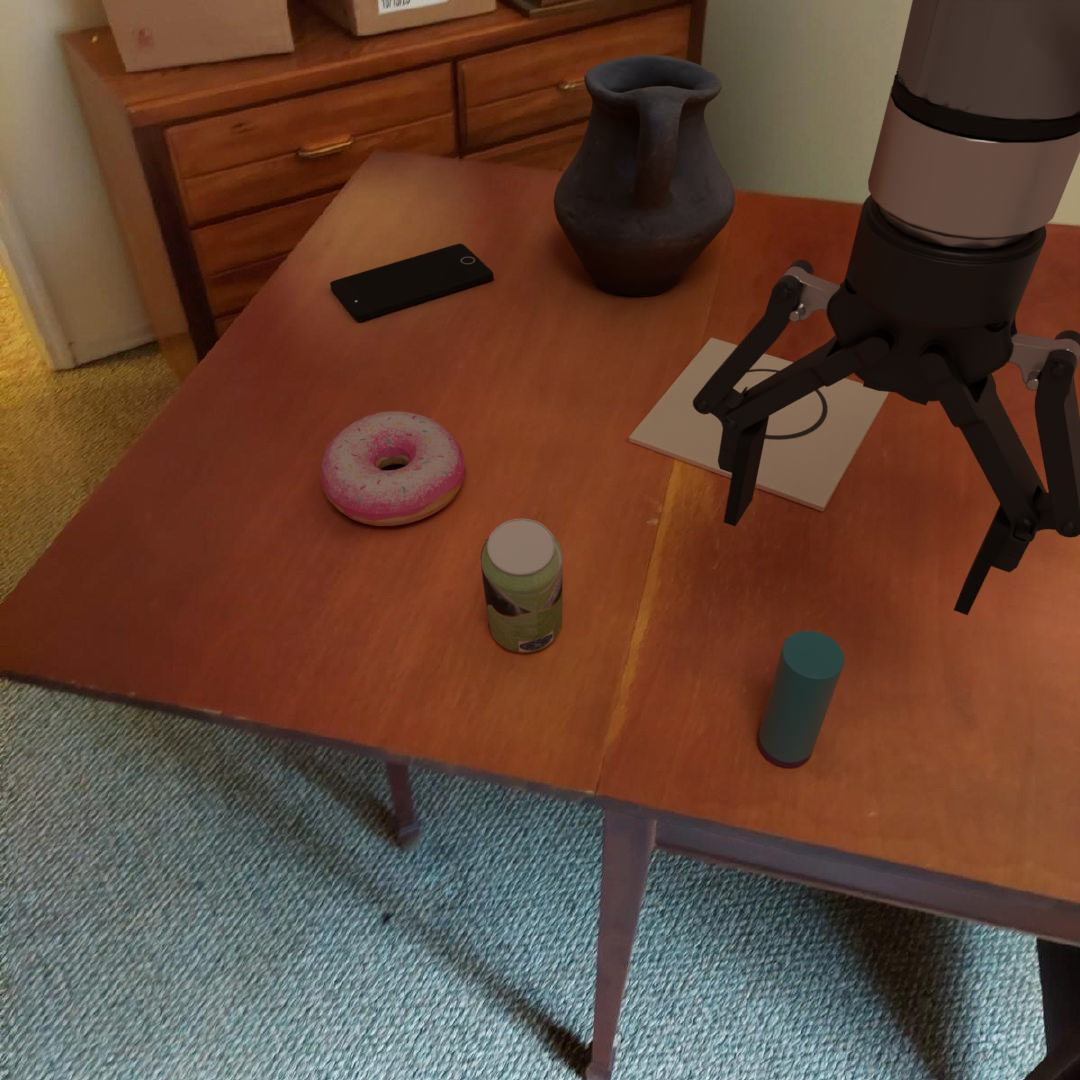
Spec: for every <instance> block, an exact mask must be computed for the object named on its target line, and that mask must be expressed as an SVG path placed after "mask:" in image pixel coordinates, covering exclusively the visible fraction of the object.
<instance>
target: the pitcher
mask: <svg viewBox="0 0 1080 1080" xmlns="http://www.w3.org/2000/svg"><path fill="white" fill-rule="evenodd" d="M583 80H584V86H585V88H586V91H587V93H588V95H589V97H590V98H591V108H590V114H589V120H588V124H587V127H586V129H585V133H584V136H583V138H582V141H581V145H580V147H579V148H578V149H577V152H576V153H575V155H574V157H573V158H572V160H571V161H570V163H569V165H568V166H567V167H566V169H565V170H564V172H563V173H562V175H561V176H560V178H559V181H558V182H557V184H556V186H555V190H554V194H553V209H554V214H555V218H556V220H557V223H558V224H559V227H560V229H561V230H562V232H563V234H564V235H565V237H566V239H567V241H568V243H569V245H570V246H571V248H572V250H573V252H574V253H575V255H576V256H577V258H578V260H579V261H580V263H581V266H582V268H583V270H584V271H585V272H586V274H587V275H588V276H589V278H590V279H591V280H592V281H593V282H594V284H595V285H596V286H597V287H598V288H600V289H602V290H604V291H605V292H608V293H612V294H616V295H621V296H631V297H649V296H652V297H653V296H658V295H661V294H663V293H665V292H667V291H669V290H671V288H673V286H675V285H676V284H677V283H678V282H679V281H681V279H682V278H683V277H684V275H685V274H686V273H687V272H688V270H689V269H690V268H691V267H692V266H693V264H694V263H695V262H696V261H697V260H698V259H699V257H700V256H701V254H703V252H704V250H706V248H707V247H708V246H709V244H711V243H712V242H713V241H714V239H715V238H716V237H717V236H718V235H719V233H721V231H722V230H723V229H724V228H725V227H726V226H727V224H728V223H729V222H730V219H731V217H732V215H733V213H734V210H735V207H736V192H735V188H734V185H733V182H732V180H731V178H730V176H729V174H728V172H727V170H726V169H725V168H724V166H723V165H722V163H721V161H720V160H719V158H718V156H717V154H716V151H715V149H714V146H713V142H712V140H711V136H710V132H709V129H708V125H707V123H706V119H705V110H706V107H707V105H708V104H709V103H710V102H711V101H713V100H714V99H715V98H717V97H718V95H719V94H720V93H721V91H722V89H723V87H722V81H721V79H720V78H719V76H717V75H716V74H715V73H714V72H712V71H709V70H708V69H707V68H705V67H704V66H702V65H700V64H698V63H696V62H693V61H690V60H685V59H682V58H677V57H674V56H671V55H662V54H661V55H659V54H643V55H632V56H625V57H622V58H614V59H611V60H608V61H607V60H606V61H605V62H601V63H598V64H596V65H595V66H593V67H591V68H589V69H588V70H587V71H586V72H585V75H584V79H583Z"/></svg>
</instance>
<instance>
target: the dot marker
mask: <svg viewBox="0 0 1080 1080" xmlns="http://www.w3.org/2000/svg"><path fill="white" fill-rule="evenodd" d="M844 665H845V655H844V652H843V649H842V648H841V646H840V644H838V642H837V641H836V640H834V639H833V638H832V636H831V637H830V636H829V635H827V634H825V633H822V632H821V631H815V630H800V631H796V632H794V633H792V634H791V635H789V636H788V637H787V638H785V640H784V642H783V643H782V647H781V650H780V655H779V658H778V662H777V666H776V669H775V673H774V676H773V680H772V684H771V686H770V687H771V688H770V691H769V695H768V698H767V701H766V706H765V709H764V713H763V717H762V720H761V724H760V728H759V732H758V734H757V740H756V741H757V747H758V750H759V752H760V754H761V755H762V756H763V758H764V759H765V760H766V761H768V762H769V763H771V764H772V765H774V766H776V767H779V768H782V769H797V768H800V767H802V766H804V765H805V764H807V763H808V761H809V760H810V759H811V757H812V755H813V752H814V749H815V748H816V747H815V746H816V744H817V740H818V738H819V735H820V733H821V729H822V728H823V724H824V721H825V718H826V716H827V712H828V710H829V707H830V704H831V702H832V698H833V696H834V693H835V690H836V687H837V685H838V682H839V679H840V677H841V673H842V670H843V667H844Z"/></svg>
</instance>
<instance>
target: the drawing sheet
mask: <svg viewBox="0 0 1080 1080" xmlns="http://www.w3.org/2000/svg"><path fill="white" fill-rule="evenodd" d="M738 345H739V344H734V343H731V342H728V341H725V340H721V339H718V338H715V337H712V336H711V337H710V338H709V339H708V340H707V342H706V343H705V344H704V346H703V347H702V348H701V349H700V350H699V351H698V353H696V355H695V356H694V357H693V359H692V360H691V361H690V362H689V364H687V366H686V367H685V368H684V370H683V371H682V372H681V373H680V375H678V377H677V378H676V379H675V380H674V382H673V383H672V384H671V385H670V387H668V389H666V391H665V393H664V394H663V395H662V396H661V397H660V398H659V400H658V401H657V402H656V404H654V406H653V407H652V408H651V409H650V411H649V412H648V413H647V415H645V417H644V418H643V419H642V420H641V422H640V423H639V424H638V425H637V426H636V428H635V429H634V430H633V431H632V432H631V433H630V435H629V436H628V442H629V443H632V444H634V445H637V446H640V447H643V448H646V449H647V450H651V451H653V452H656V453H659V454H661V455H665V456H667V457H669V458H670V457H671V458H673V459H676V460H679V461H681V462H684V463H686V464H690V465H692V466H695V467H698V468H701V469H703V470H706V471H708V472H711V473H714V474H717V475H719V476H722V477H726V478H727V479H731V477H732V473H730V472H727V471H724V470H722V469H720V468H719V464H718V456H719V450H720V444H721V437H722V431H723V427H722V424H721V422H720V420H719V419H718V418H717V417H715V416H714V415H712V414H711V413H709V414H701V413H699V412H697V411H696V410H695V408H694V406H693V400H694V398H695V397H696V395H697V394H698V393H699V392H700V390H701V389H702V388H703V387H704V385H705V384H706V383H707V381H708V380H709V379H710V378H711V376H712V375H713V374H714V373H715V372H716V371H717V369H718V368H719V367H720V366H721V365H722V364H723V362H724V361H725V360H726V359H727V358H728V357H729V355H730V354H731V353H732V352H733V351H734V350H735V348H736V347H737V346H738ZM794 362H795V361H794ZM794 362H793V361H790V360H787V359H783V358H780V357H777V356H774V355H770V354H767V353H764V354H763V355H762V356H761V357H760V358H759V360H758V361H757V362H756V363H755V364H754V365H753V366H752V367H751V368H750V370H749V371H748V372H747V373H746V374H745V375H744V376H743V377H742V378H741V380H740V381H739V382H738V383H737V384H736V385H735V386H734V387H733V388H734V389H735V390H737V391H738V392H740V393H741V392H742V391H743V390H744V388H745V387H748V388H747V390H748V389H750V388H751V387H753V386H755V385H756V384H758V383H760V382H762V381H763V380H765V379H767V378H768V377H770V376H772V375H773V374H775V373H777V372H779V371H780V370H782V369H784V368H785V367H787V366H789V365H790V364H792V363H794ZM863 384H864V383H861V382H859V381H855V380H852V379H848V378H847V377H846V378H844V379H842V380H840V381H838V382H836V383H835V384H833V385H831V386H829V387H826V386H823V387H821V388H819V389H817V390H816V391H814V392H812V393H810V394H808V395H806V396H805V397H803V398H801V399H799V400H797V401H795V402H794V403H792V404H790V405H788V406H786V407H784V408H783V409H781V410H779V411H777V412H775V413H773V414H772V415H770V416H769V420H768V425H767V430H766V435H765V440H764V445H763V450H762V455H761V460H760V465H759V470H758V475H757V480H756V485H755V489H757V490H761V491H764V492H765V493H766V492H767V493H769V494H772V495H775V496H778V497H781V498H782V499H786V500H789V501H791V502H793V503H797V504H800V505H803V506H805V507H807V508H810V509H813V510H815V511H819V512H821V513H823V512H824V510H825V509H826V507H827V505H828V503H829V502H830V500H831V498H832V497H833V495H834V493H835V491H836V489H837V488H838V486H839V484H840V482H841V480H842V479H843V477H844V475H845V473H846V471H847V470H848V469H849V466H850V464H851V463H852V461H853V459H854V458H855V456H856V454H857V452H858V450H859V449H860V447H861V445H862V443H863V442H864V439H865V438H866V436H867V434H868V433H869V431H870V429H871V427H872V425H873V423H874V422H875V420H876V418H877V417H878V414H879V413H880V412H881V410H882V408H883V406H884V404H885V402H886V401H887V399H888V397H889V394H890V392H886V391H877V390H874V389H870V388H867V387H864V386H863Z"/></svg>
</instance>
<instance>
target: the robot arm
mask: <svg viewBox="0 0 1080 1080" xmlns="http://www.w3.org/2000/svg"><path fill="white" fill-rule="evenodd" d="M909 10H910V11H909V14H908V19H907V24H906V28H905V31H904V32H905V33H904V36H903V41H902V46H901V51H900V55H899V59H898V64H897V68H896V72H895V73H896V74H894V78H893V82H892V86H891V87H890V90H889V95H888V98H887V99H888V100H887V103H886V106H885V107H886V108H885V111H884V115H883V119H882V124H881V128H880V131H879V135H878V140H877V143H876V148H875V151H874V156H873V160H872V164H871V166H870V167H871V168H870V172H869V175H868V179H867V189H868V192H869V195H868V196H867V197H866V199H865V200H864V201H863V204H862V206H861V210H860V213H859V214H860V215H859V219H858V222H857V223H858V224H857V227H856V232H855V235H854V240H853V243H852V248H851V252H850V256H849V261H848V264H847V268H846V273H845V277H844V279H843V281H842V282H841V283H840V284H837V283H835V282H832V281H829V280H826V279H824V278H821V277H819V276H816V275H814V272H815V271H814V267H813V265H812V263H810V262H809V261H807V260H806V259H796V260H795V261H793V262H792V263H791V264H790V265H789V267H788V268H787V270H786V271H785V272H784V273H783V274H782V276H781V277H780V278H779V279H778V281H777V282H776V283H775V284H774V286H773V288H772V290H771V293H770V296H769V299H768V302H767V306H766V309H765V312H764V315H763V316H762V317H761V318H760V319H759V320H758V321H757V323H756V324H755V325H754V326H753V327H752V328H751V330H750V331H749V332H748V333H747V334H746V336H745V337H744V338H743V339H742V340H741V341H740V342H739V344H737V345H738V346H737V347H736V348H735V350H734V351H733V352H732V353H731V354H730V355H729V357H728V358H727V359H726V360H725V361H724V362H723V364H722V365H721V366H720V367H719V368H718V369H717V371H716V372H715V373H714V374H713V375H712V376H711V378H710V379H709V380H708V381H707V383H706V384H705V385H704V387H703V388H702V389H701V390H700V392H699V393H698V394H697V395H696V397H695V398H694V400H693V406H694V408H695V410H696V411H697V412H699V413H701V414H709V413H711V414H712V415H714V416H715V417H717V418H718V419H719V420H720V422H721V424H722V427H723V431H722V437H721V444H720V450H719V456H718V464H719V468H720V469H722V470H724V471H727V472H730V473H732V477H731V478H730V483H729V489H728V494H727V501H726V505H725V506H726V507H725V512H724V518H723V523H725V524H727V525H729V526H733V527H737V525H738V523H739V522H740V520H741V519H742V517H743V515H744V514H745V512H746V511H747V509H748V508H749V506H750V504H751V503H752V501H753V499H754V495H755V489H756V488H755V485H756V480H757V475H758V470H759V465H760V460H761V455H762V450H763V445H764V440H765V435H766V430H767V425H768V420H769V416H770V415H772V414H773V413H775V412H777V411H779V410H781V409H783V408H784V407H786V406H788V405H790V404H792V403H794V402H795V401H797V400H799V399H801V398H803V397H805V396H806V395H808V394H810V393H812V392H814V391H816V390H817V389H819V388H821V387H823V386H826V387H829V386H831V385H833V384H835V383H836V382H838V381H840V380H842V379H844V378H846V379H847V378H848V377H850V376H851V375H853V374H854V375H855V376H856V377H857V378H858V379H859V380H860V381H862V382H863V383H862V384H863V386H864V387H867V388H870V389H874V390H877V391H886V392H889V393H895V394H897V395H899V396H900V397H903V398H905V399H906V400H908V401H910V402H913V403H915V404H919V405H923V406H927V405H928V403H929V402H939V404H940V405H941V407H942V408H943V411H944V412H945V414H946V416H947V418H948V419H949V422H950V423H951V425H952V426H953V427H954V428H959V430H960V431H961V433H962V435H963V437H964V438H965V441H966V443H967V444H968V446H969V448H970V450H971V452H972V453H973V455H974V457H975V459H976V461H977V463H978V465H979V467H980V468H981V471H982V472H983V474H984V476H985V478H986V480H987V482H988V484H989V485H990V487H991V489H992V491H993V493H994V495H995V497H996V498H997V501H998V502H999V506H998V507H997V509H996V512H995V514H994V517H993V519H992V521H991V523H990V525H989V527H988V528H987V529H988V530H987V531H986V534H985V536H984V538H983V540H982V542H981V545H980V547H979V549H978V551H977V554H976V555H975V557H974V560H973V562H972V564H971V566H970V568H969V571H968V573H967V574H966V578H965V580H964V582H963V585H962V587H961V590H960V593H959V595H958V598H957V600H956V602H955V605H954V607H953V611H954V612H957V613H960V614H962V615H966V616H968V615H969V613H970V612H971V609H972V608H973V605H974V604H975V601H976V598H977V597H978V595H979V593H980V591H981V589H982V586H983V585H984V582H985V580H986V578H987V576H988V574H989V572H990V570H991V568H992V567H993V568H995V569H998V570H1001V571H1003V572H1006V573H1008V574H1009V573H1011V572H1013V571H1014V570H1016V569H1017V568H1018V566H1019V564H1020V562H1021V560H1022V558H1023V556H1024V554H1025V552H1026V551H1027V549H1028V547H1029V544H1030V543H1031V542H1032V541H1034V539H1035V537H1036V534H1037V533H1039V532H1040V531H1043V530H1044V531H1045V530H1052V531H1056V533H1058V534H1059V536H1062V537H1064V538H1076V537H1078V536H1080V410H1079V403H1078V395H1077V388H1076V383H1075V375H1076V371H1077V367H1078V364H1079V361H1080V332H1078V331H1075V330H1073V329H1072V330H1070V329H1068V330H1067V329H1066V330H1063V331H1060V332H1059V333H1058V334H1056V336H1055V337H1054V338H1050V337H1043V336H1037V335H1031V334H1026V333H1025V334H1024V333H1021V332H1020V333H1019V332H1018V328H1017V324H1016V317H1017V312H1018V309H1019V307H1020V305H1021V302H1022V299H1023V297H1024V295H1025V292H1026V289H1027V287H1028V285H1029V282H1030V280H1031V277H1032V274H1033V272H1034V269H1035V267H1036V264H1037V262H1038V259H1039V257H1040V255H1041V252H1042V249H1043V246H1044V245H1045V242H1046V238H1047V228H1046V225H1047V224H1048V223H1049V222H1051V221H1052V220H1053V219H1054V217H1055V215H1056V212H1057V209H1058V208H1059V205H1060V203H1061V200H1062V197H1063V195H1064V193H1065V190H1066V188H1067V186H1068V183H1069V180H1070V178H1071V175H1072V173H1073V171H1074V168H1075V166H1076V163H1077V160H1078V158H1079V155H1080V0H912V1H911V5H910V9H909ZM816 311H825V313H826V317H827V320H828V322H829V325H830V327H831V329H832V331H833V333H834V335H833V336H832V337H831V338H830V339H829V340H828V341H827V342H826V343H824V344H823V345H821V346H819V347H818V348H815V349H814V350H813V351H811V352H809V353H807V354H805V355H804V356H802V357H801V358H799V359H797V360H795V361H794V363H792V364H790V365H789V366H787V367H785V368H784V369H782V370H780V371H779V372H777V373H775V374H773V375H772V376H770V377H768V378H767V379H765V380H763V381H762V382H760V383H758V384H756V385H755V386H753V387H751V388H750V389H748V390H747V388H748V387H745V388H744V390H743V391H742V392H741V393H740V392H738V391H737V390H735V389H734V388H733V387H734V386H735V385H736V384H737V383H738V382H739V381H740V380H741V378H742V377H743V376H744V375H745V374H746V373H747V372H748V371H749V370H750V368H751V367H752V366H753V365H754V364H755V363H756V362H757V361H758V360H759V358H760V357H761V356H762V355H763V354H766V352H767V351H768V350H769V349H770V347H772V346H773V344H774V343H775V342H776V341H777V340H778V338H780V336H781V335H782V333H783V332H784V331H785V330H786V328H787V327H788V326H789V324H790V322H792V323H797V322H800V321H801V322H803V321H806V320H807V319H809V318H810V316H811V315H812V314H813V313H814V312H816ZM1008 363H1011V364H1014V365H1015V366H1017V367H1018V368H1019V370H1020V372H1021V379H1022V382H1023V383H1024V384H1025V386H1026V388H1027V389H1028V390H1029V391H1033V392H1034V391H1035V392H1036V393H1035V397H1034V415H1035V417H1034V418H1035V423H1036V427H1037V433H1038V439H1039V440H1038V441H1039V445H1040V451H1041V456H1042V462H1043V469H1044V473H1045V479H1046V485H1047V488H1045V487H1046V486H1044V483H1043V481H1042V480H1041V478H1040V476H1039V474H1038V472H1037V470H1036V468H1035V466H1034V464H1033V462H1032V460H1031V458H1030V456H1029V454H1028V452H1027V449H1025V446H1024V445H1023V443H1022V440H1021V438H1020V436H1019V435H1018V433H1017V431H1016V429H1015V427H1014V425H1013V423H1012V421H1011V419H1010V417H1009V415H1008V413H1007V411H1006V409H1005V407H1004V406H1003V403H1002V401H1001V399H1000V397H999V395H998V391H997V384H996V380H995V377H994V376H993V373H995V372H997V371H998V370H1000V369H1002V368H1004V367H1005V366H1006V365H1007V364H1008ZM1047 490H1048V491H1047Z"/></svg>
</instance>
